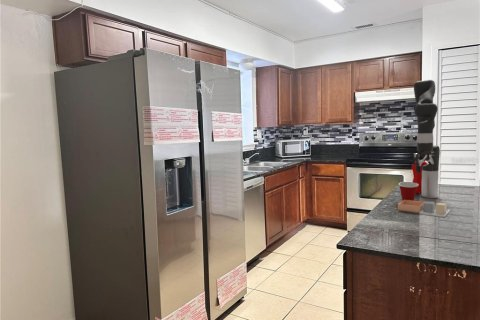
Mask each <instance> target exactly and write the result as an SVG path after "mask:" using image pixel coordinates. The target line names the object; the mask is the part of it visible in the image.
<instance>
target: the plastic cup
mask: <svg viewBox="0 0 480 320" xmlns="http://www.w3.org/2000/svg"><path fill="white" fill-rule="evenodd" d="M398 186H399V191H400V195H401V201H403V200H411V201H415V197H416V194H417V193H416V190H417V187H418V184H417V183H413V181H402V182H399V183H398Z"/></svg>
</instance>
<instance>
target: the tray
mask: <svg viewBox="0 0 480 320" xmlns="http://www.w3.org/2000/svg"><path fill="white" fill-rule="evenodd" d="M435 212H436V207H435V211H434V212H433V213H428V212H424V209H423V210H422V211H420V213H419V215H425V216H433V217H439V218H440V217H441V218H445V217H446V216H447V215H449V213H450V212H451V209H448V208H446V213H445V214H444V215H443V214H435Z"/></svg>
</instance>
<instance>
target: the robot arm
mask: <svg viewBox="0 0 480 320" xmlns="http://www.w3.org/2000/svg"><path fill="white" fill-rule="evenodd" d="M413 92H414V98H415V107H414V111H413V113H414V115H415V116H416V118H417V119H416V120H417V137H416V151H417V153H413V154H412V156H413V157H412V164H413V165H416V172H417V173H421V164H422V163H423V162H424V161H425V162H427V163H428V164H427V165H423V166H422V192H421V193H420V194H421V197H422V198H427V199H428V198H430V199H436V198H438V197H439V196H438V195H439V169H440V168H439V166H440V156H441V155H440V154H441V152H440V151H441V149H440V146H439V145H435V144H434V129H435V126H436V124H435V123H436V121H435V119H436V116H437V114H438V110H439V109H438V105H437V104H436V103H434V97H435V94H436V82H435V80H433V79H426V80H418V81H415V82H414V84H413ZM415 161H416V163H415ZM419 162H420V163H419Z"/></svg>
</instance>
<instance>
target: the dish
mask: <svg viewBox="0 0 480 320" xmlns="http://www.w3.org/2000/svg"><path fill="white" fill-rule="evenodd" d="M425 202H426V201H419V200H414V201H411V200H403V201H402V200H401V201H400V202H398V203H397V211H400V212H401V211H402V212H408V213H415V214H420V211H422V210H423V209H424V203H425Z"/></svg>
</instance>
